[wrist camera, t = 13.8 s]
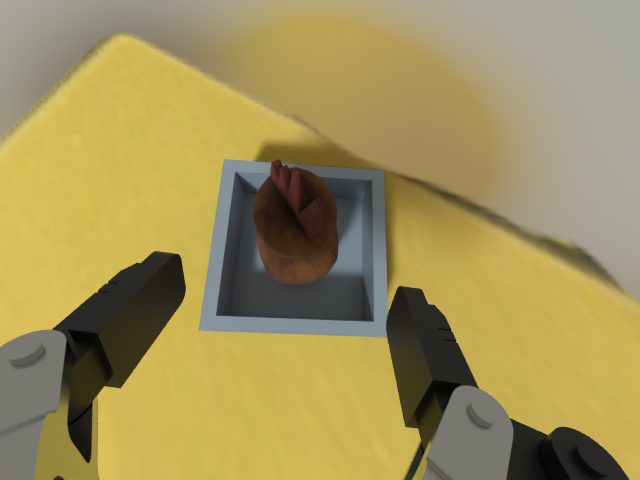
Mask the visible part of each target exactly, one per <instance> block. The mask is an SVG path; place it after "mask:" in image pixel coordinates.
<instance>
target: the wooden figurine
mask: <svg viewBox="0 0 640 480" xmlns="http://www.w3.org/2000/svg"><path fill="white" fill-rule="evenodd" d="M253 220H254V223H255V226H256V240H257V245H258V249H259V253H260V257H261V259H262V262H263V265H264V267H265V270H266V272H267V274H268V275H269V276H271V277H272V278H274V279H276V280H277V281H279V282H280V283H282V284H296V285H299V284H304V283H309V282H314V281H315V280H317V279H319V278H321V277H323V276H324V275H326V274H328V273H329V271H330V270H331V268H332V267H333V266H334V264H335V263H336V261H337V258H338V246H339V239H338V231H337V225H336V222H337V205H336V201H335V199H334V196H333V194H332V192H331V190H330V188H329V187H328V186H327V185H326V183H325V182H324V181H323V180H322V179H321V178H320V177H318V176H317V175H315V174H314V173H312V172H311V171H308V170H305V169H302V168H298V167H292V168H289V167H288V166H287V165H285V166H283V165H282V163H281V161H280V160H279V159H278V160H276V161H275V162H273V163H271V172H270V176H269V177H268V178H267V179H266V180H265V181H264V183H263V184H262V185H261V187H260V188H259V190H258V193H257V196H256V198H255V201H254V206H253Z"/></svg>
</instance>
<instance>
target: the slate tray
mask: <svg viewBox="0 0 640 480" xmlns="http://www.w3.org/2000/svg"><path fill="white" fill-rule="evenodd" d="M271 163H272V162H257V161H242V160H227V159H224V162H223V169H222V176H221V183H220V189H219V196H218V203H217V210H216V217H215V224H214V230H213V237H212V244H211V251H210V258H209V264H208V271H207V278H206V285H205V292H204V298H203V305H202V312H201V319H200V326H199V331H225V332H252V333H280V334H308V335H336V336H364V337H387V333H386V320H387V316H388V300H387V259H386V219H385V178H384V170H377V169H362V168H347V167H332V166H317V165H302V164H287V163H282V165H283V166H285V165H287V166H288V167H289V168H292V167H298V168H302V169H305V170H308V171H311V172H312V173H314V174H315V175H317V176H318V177H320V178H321V179H322V180H323V181H324V182H325V183H326V185H327V186H328V187H329V188H330V190H331V192H332V194H333V196H334V199H335V201H336V205H337V222H336V225H337V231H338V239H339V246H338V258H337V261H336V263H335V264H334V266H333V267H332V268H331V270H330V271H329V273H328V274H326V275H324V276H323V277H321V278H319V279H317V280H315V281H314V282H309V283H304V284H299V285H296V284H282V283H280V282H279V281H277V280H276V279H274V278H272V277H271V276H269V275H268V274H267V272H266V270H265V267H264V265H263V262H262V259H261V257H260V253H259V249H258V245H257V240H256V226H255V223H254V220H253V206H254V201H255V198H256V196H257V193H258V190H259V188H260V187H261V185H262V184H263V183H264V181H265V180H266V179H267V178H268V177H269V176H270V172H271Z"/></svg>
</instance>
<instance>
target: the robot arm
mask: <svg viewBox="0 0 640 480" xmlns="http://www.w3.org/2000/svg"><path fill="white" fill-rule="evenodd" d="M185 291H186V286H185V280H184V273H183V267H182V261H181V257H180V255H178V254H174V253H166V252H159V251H155V252H153V253H152V254H150V255H149V256H148V257H147V258H146V259H145V260H144V261H143V262H142V263H136V264H134V265H132V266H130V267H128V268H126V269H124V270H122V271H120V272H119V273H118V274H117V275H115V276H114V277H113V278H112V279H111V280H110V281H108V284H105V285H104V286H103V287H101V288H100V289H99V290H98V292H97V293H94V294H93V295H92V296H91V297H90V298H88V299H87V300H86V301H85V302H84V303H83V304H81V305H80V306H79V307H78V308H77V309H76V310H74V311H73V312H72V313H71V314H70V315H69V316H67V317H66V318H65V319H64V320H63V321H61V322H60V323H59V324H58V325H57V326H56V327H54V328H53V329H52V330H40V331H35V332H31V333H28V334H25V335H22V336H20V337H17V338H15V339H13V340H11V341H9V342H8V343H6V344H4V345H3V346H1V347H0V480H100V479H99V474H98V465H97V459H98V399H97V397H96V396H97V395H98V394H99V392H100V391H101V390H102V388H103V387H104V386H107V387H115V388H121V387H122V386H123V384H124V383H125V381H126V380H127V379H128V377H129V376H130V375H131V373H132V372H133V370H134V369H135V368H136V366H137V365H138V363H139V362H140V361H141V359H142V358H143V356H144V355H145V354H146V352H147V351H148V349H149V348H150V347H151V345H152V344H153V342H154V341H155V340H156V338H157V337H158V335H159V334H160V333H161V331H162V330H163V328H164V327H165V326H166V324H167V323H168V321H169V320H170V319H171V317H172V316H173V315H174V313H175V312H176V310H177V309H178V308H179V306H180V305H181V303H182V301H183V299H184V296H185ZM386 333H387V338H388V343H389V348H390V353H391V358H392V363H393V368H394V373H395V378H396V383H397V388H398V393H399V398H400V403H401V408H402V413H403V418H404V423H405V427H410V428H418V429H419V434H420V438H421V440H420V442H419V444H418V446H417V448H416V450H415V452H414V455H413V457H412V459H411V461H410V463H409V466H408V468H407V470H406V472H405V474H404V477H403V479H402V480H629V478H628V477H627V475H626V474H625V473H624V471H623V470H622V468H621V467H620V466H619V464H618V463H617V462H616V461H615V459H614V458H613V457H612V456H611V455H610V454H609V453H608V452H607V451H606V450H605V449H604V448H603V447H602V446H600V445H599V444H598V443H597V442H595V441H594V440H593V439H591V438H590V437H588V436H587V435H585V434H583V433H581V432H579V431H577V430H575V429H572V428H568V427H558V428H556V429H555V430H554V431H552V432H551V433H550V434H549V435H546V434H544V433H542V432H540V431H537V430H535V429H533V428H531V427H528V426H526V425H524V424H522V423H519V422H517V421H515V420H513V419H511V418H509V416H508V414H507V413H506V411H505V410H504V409H503V407H502V406H501V405H500V404H499V403H498V402H497V401H496V400H495V399H494V398H493V397H492V396H490V395H489V394H488V393H486V392H484V391H483V390H481V389H479V387H478V385H477V383H476V381H475V379H474V377H473V375H472V373H471V370H470V368H469V366H468V364H467V362H466V360H465V358H464V356H463V353H462V351H461V349H460V347H459V345H458V343H456V339H455V336H454V334H453V332H451V328H450V326H449V324H448V322H447V319H446V317H445V316H444V315H443V314H442V313H441V312H440V311H439V309H438V308H437V307H436V306H435V305H430V304H428V303H427V300H426V298H425V296H424V293H423V291H422V290H421V289H418V288H411V287H404V286H399V287H398V289H397V291H396V294H395V296H394V299H393V302H392V305H391V307H390V310H389V313H388V316H387V320H386Z"/></svg>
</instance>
